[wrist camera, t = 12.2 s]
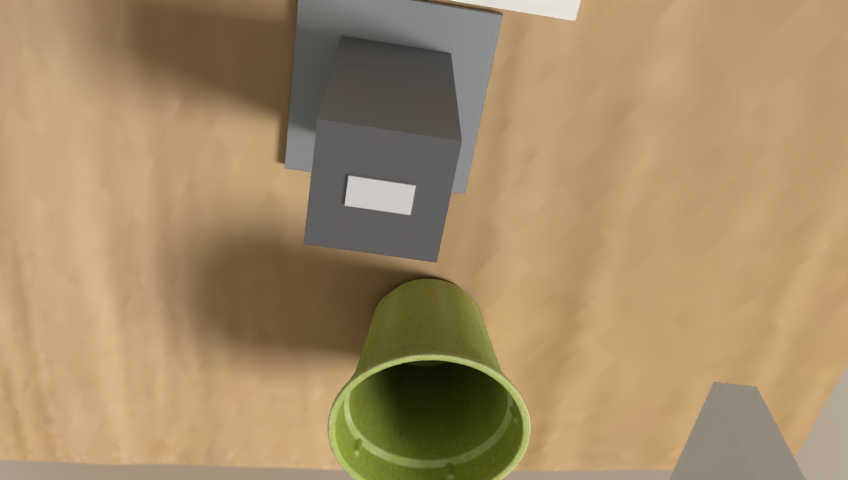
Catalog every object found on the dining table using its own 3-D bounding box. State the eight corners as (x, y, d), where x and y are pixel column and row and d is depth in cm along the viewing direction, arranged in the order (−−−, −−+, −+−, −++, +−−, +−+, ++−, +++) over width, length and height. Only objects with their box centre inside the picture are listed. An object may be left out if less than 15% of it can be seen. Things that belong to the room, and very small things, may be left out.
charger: (341, 35, 35) (316, 120, 27) (451, 53, 36) (462, 142, 27) (329, 137, 38) (303, 245, 29) (432, 153, 38) (436, 263, 30)
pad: (300, -20, 34) (299, -18, 34) (501, 13, 35) (502, 15, 35) (285, 164, 39) (284, 168, 39) (464, 190, 40) (464, 194, 39)
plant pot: (504, 388, 46) (520, 505, 39) (344, 385, 46) (330, 503, 39) (518, 253, 42) (540, 357, 34) (340, 249, 41) (324, 353, 34)
